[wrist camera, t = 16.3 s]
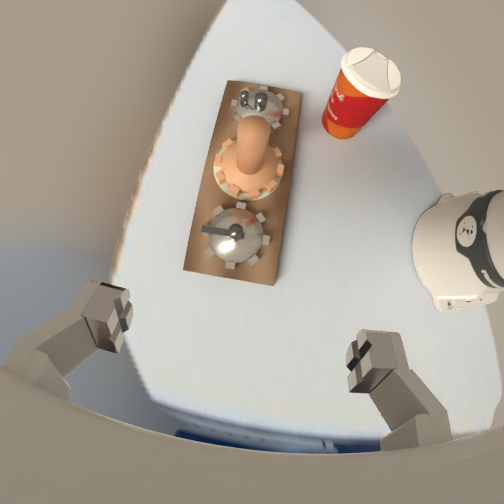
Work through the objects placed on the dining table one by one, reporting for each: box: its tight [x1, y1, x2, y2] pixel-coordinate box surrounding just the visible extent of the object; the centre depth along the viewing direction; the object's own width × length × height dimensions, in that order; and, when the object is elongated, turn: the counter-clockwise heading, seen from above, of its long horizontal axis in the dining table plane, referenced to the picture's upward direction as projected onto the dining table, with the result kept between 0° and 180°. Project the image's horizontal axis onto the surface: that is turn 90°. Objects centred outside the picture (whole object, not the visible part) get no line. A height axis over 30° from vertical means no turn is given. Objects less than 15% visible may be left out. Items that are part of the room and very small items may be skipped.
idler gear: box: [214, 115, 284, 200], centre depth 32 cm, size 8×8×10 cm
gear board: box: [183, 80, 301, 286], centre depth 38 cm, size 11×28×2 cm, turn 170°
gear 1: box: [231, 85, 289, 133], centre depth 36 cm, size 8×8×4 cm
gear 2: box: [201, 202, 270, 270], centre depth 34 cm, size 8×8×4 cm
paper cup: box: [322, 47, 401, 139], centre depth 33 cm, size 8×8×14 cm
